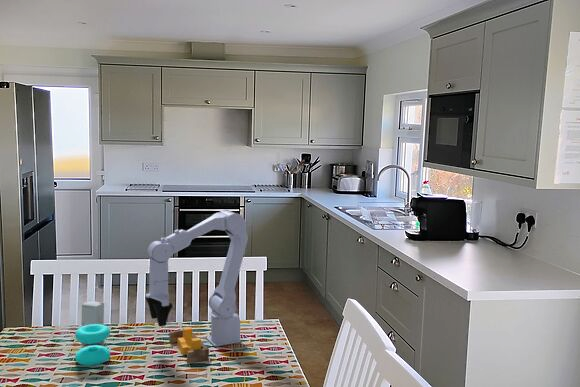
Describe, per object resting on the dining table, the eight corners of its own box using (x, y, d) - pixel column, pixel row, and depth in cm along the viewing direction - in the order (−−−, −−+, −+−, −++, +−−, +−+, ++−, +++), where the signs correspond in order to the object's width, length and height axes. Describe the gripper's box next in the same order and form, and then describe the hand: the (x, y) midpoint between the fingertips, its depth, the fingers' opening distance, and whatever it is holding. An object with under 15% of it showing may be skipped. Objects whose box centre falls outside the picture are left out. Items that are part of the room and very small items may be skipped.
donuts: (117, 325, 168) (94, 336, 159) (117, 357, 169) (94, 369, 160) (91, 320, 172) (67, 331, 162) (91, 351, 173) (67, 363, 164)
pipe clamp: (177, 347, 178) (177, 328, 178) (190, 345, 180) (190, 326, 180) (187, 362, 168) (187, 341, 167) (200, 359, 169) (201, 339, 169)
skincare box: (80, 339, 182) (80, 304, 181) (89, 334, 186) (88, 300, 185) (96, 342, 180) (96, 306, 179) (104, 337, 185) (104, 302, 183)
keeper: (188, 338, 186) (188, 328, 185) (208, 359, 169) (208, 348, 169) (169, 341, 182) (169, 331, 182) (187, 363, 166) (188, 352, 166)
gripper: (139, 275, 176) (139, 316, 177) (152, 287, 163) (152, 331, 165) (161, 273, 179) (161, 313, 181) (175, 284, 167) (175, 327, 168)
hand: (158, 321), depth 173 cm, fingers open, 7 cm apart
